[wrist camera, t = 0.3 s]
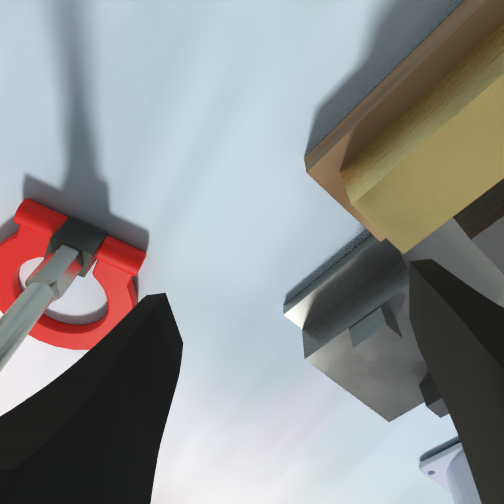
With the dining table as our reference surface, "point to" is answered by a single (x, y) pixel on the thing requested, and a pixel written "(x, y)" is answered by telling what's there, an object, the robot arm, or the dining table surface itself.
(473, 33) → the block
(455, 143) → the link bar
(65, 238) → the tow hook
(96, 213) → the dining table surface
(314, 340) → the grey stepped metal block
